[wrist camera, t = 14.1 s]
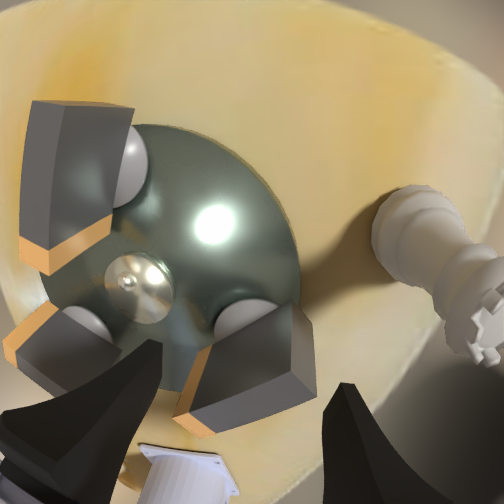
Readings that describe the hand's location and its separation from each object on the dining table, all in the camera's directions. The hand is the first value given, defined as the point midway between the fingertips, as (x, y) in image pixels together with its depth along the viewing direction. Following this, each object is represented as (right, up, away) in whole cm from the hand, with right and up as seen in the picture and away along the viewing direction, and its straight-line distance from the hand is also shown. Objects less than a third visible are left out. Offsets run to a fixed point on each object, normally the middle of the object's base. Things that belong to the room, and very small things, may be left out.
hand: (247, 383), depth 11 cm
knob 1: (-6, +9, +1) cm, 11 cm away
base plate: (-5, +4, +4) cm, 8 cm away
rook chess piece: (+8, +6, +2) cm, 10 cm away
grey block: (0, +1, +3) cm, 3 cm away
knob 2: (-10, 0, +5) cm, 11 cm away
